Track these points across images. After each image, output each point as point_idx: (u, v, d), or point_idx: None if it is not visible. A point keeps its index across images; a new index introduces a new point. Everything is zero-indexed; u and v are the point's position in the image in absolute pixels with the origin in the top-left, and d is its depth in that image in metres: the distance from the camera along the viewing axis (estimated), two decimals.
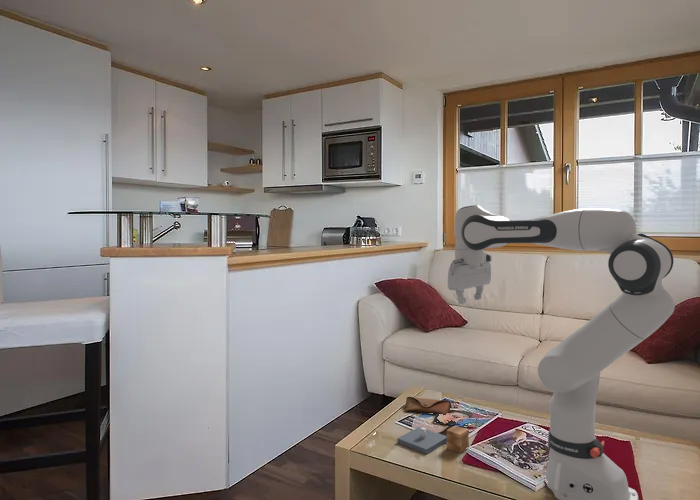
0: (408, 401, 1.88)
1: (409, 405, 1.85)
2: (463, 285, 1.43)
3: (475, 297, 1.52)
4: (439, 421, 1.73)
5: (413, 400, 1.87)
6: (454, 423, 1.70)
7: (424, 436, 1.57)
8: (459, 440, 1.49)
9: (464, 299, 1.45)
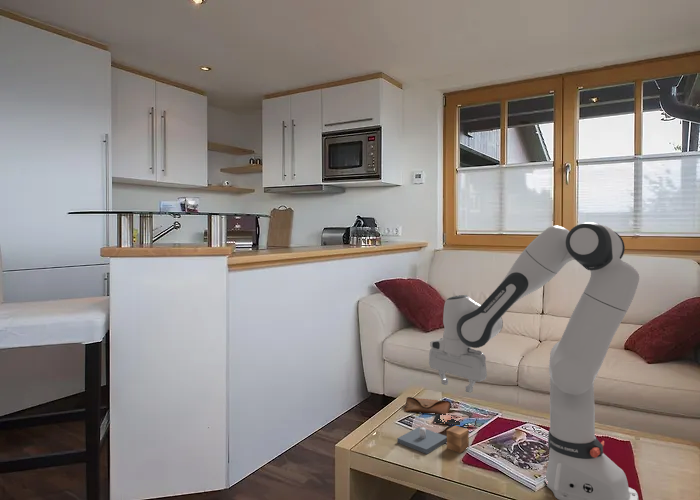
0: (408, 401, 1.88)
1: (409, 406, 1.85)
2: None
3: (445, 382, 1.55)
4: (439, 421, 1.73)
5: (413, 400, 1.87)
6: (454, 423, 1.70)
7: (424, 436, 1.57)
8: (459, 440, 1.49)
9: None
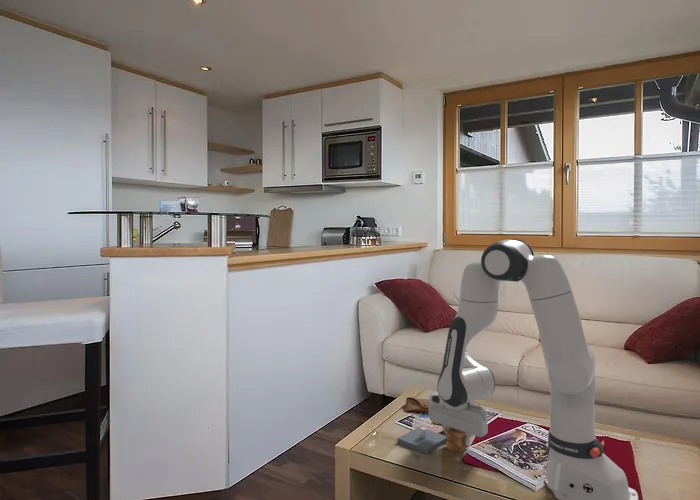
0: (408, 402, 1.88)
1: (408, 406, 1.85)
2: None
3: None
4: None
5: (413, 401, 1.87)
6: None
7: (424, 436, 1.57)
8: (459, 440, 1.49)
9: None
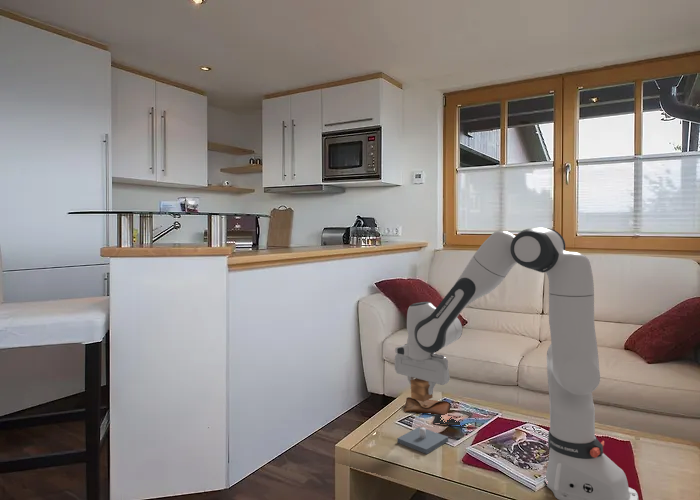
0: (408, 402, 1.88)
1: (408, 406, 1.85)
2: None
3: None
4: (439, 422, 1.72)
5: (413, 401, 1.87)
6: (454, 423, 1.70)
7: (424, 436, 1.57)
8: (422, 389, 1.54)
9: None
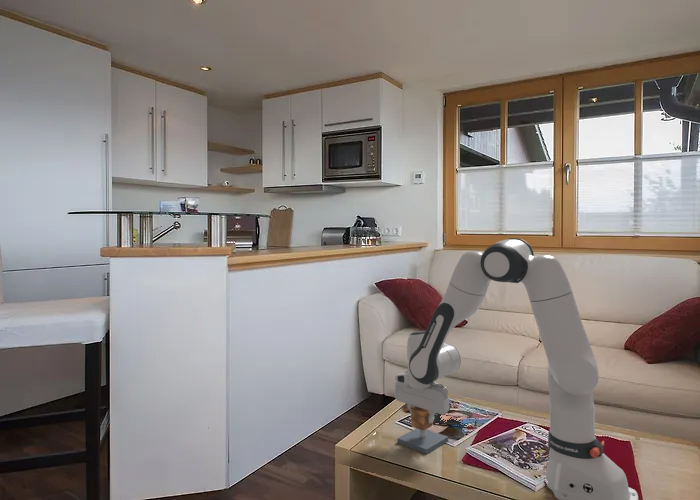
0: None
1: None
2: None
3: None
4: (439, 422, 1.72)
5: None
6: (454, 423, 1.70)
7: (424, 436, 1.57)
8: (422, 418, 1.54)
9: None
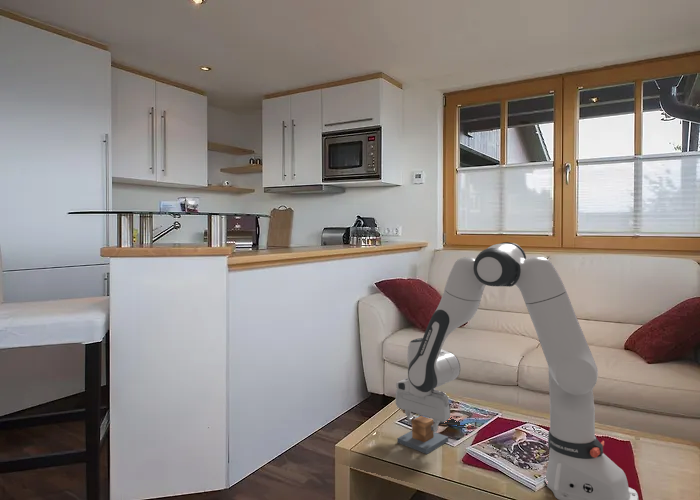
0: None
1: None
2: None
3: None
4: None
5: None
6: (454, 424, 1.70)
7: None
8: (423, 430, 1.54)
9: None
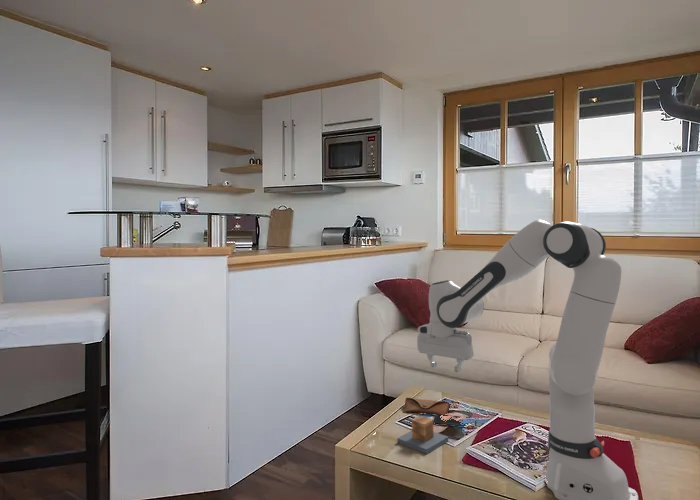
0: (407, 402, 1.87)
1: (407, 406, 1.85)
2: None
3: (434, 365, 1.62)
4: (439, 422, 1.72)
5: (412, 401, 1.87)
6: (454, 424, 1.70)
7: None
8: (423, 430, 1.54)
9: None
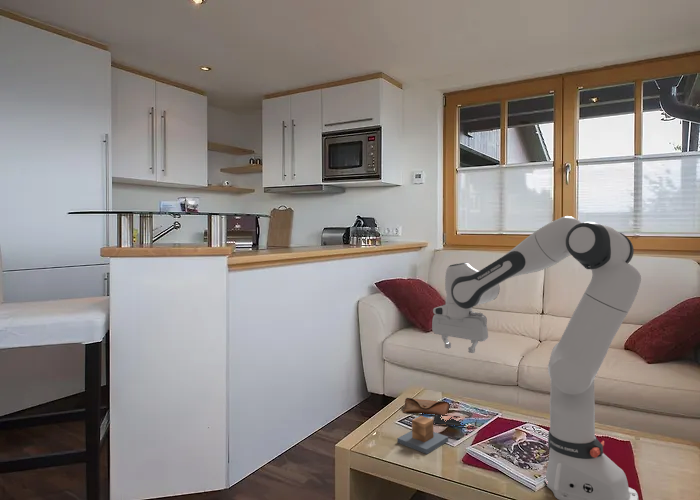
0: (407, 402, 1.87)
1: (407, 407, 1.84)
2: None
3: (448, 346, 1.65)
4: (439, 422, 1.72)
5: (412, 401, 1.87)
6: (454, 424, 1.70)
7: None
8: (423, 430, 1.54)
9: None
